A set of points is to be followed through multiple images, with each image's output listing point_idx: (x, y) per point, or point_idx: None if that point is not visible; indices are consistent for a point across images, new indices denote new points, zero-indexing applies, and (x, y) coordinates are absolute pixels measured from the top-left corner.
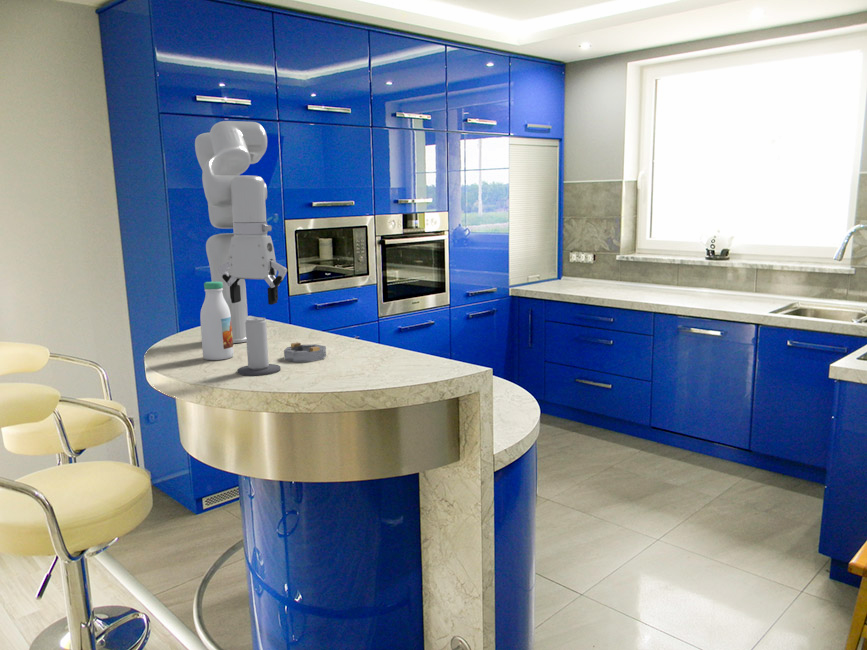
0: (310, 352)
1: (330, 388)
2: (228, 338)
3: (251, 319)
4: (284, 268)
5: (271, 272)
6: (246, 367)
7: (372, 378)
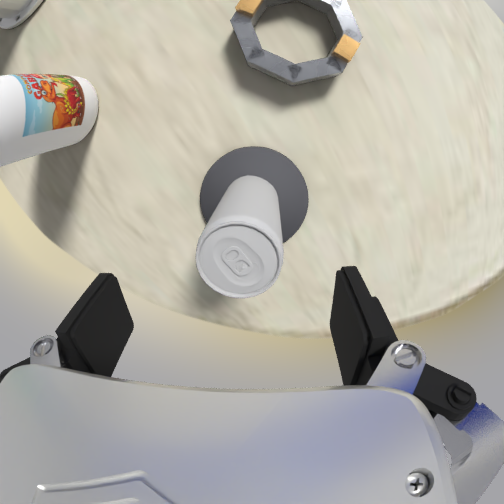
0: (342, 69)
1: (442, 291)
2: (68, 109)
3: (224, 271)
4: (496, 459)
5: (364, 423)
6: (214, 199)
7: (491, 219)
